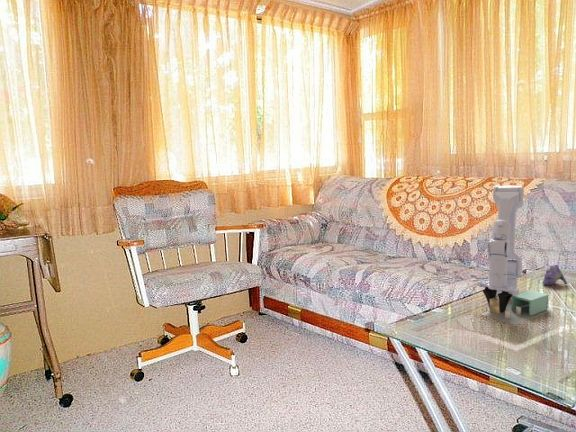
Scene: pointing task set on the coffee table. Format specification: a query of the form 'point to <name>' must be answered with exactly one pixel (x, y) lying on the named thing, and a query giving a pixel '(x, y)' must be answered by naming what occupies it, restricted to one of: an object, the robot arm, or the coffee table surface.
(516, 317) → the base
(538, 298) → the block
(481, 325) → the coffee table surface
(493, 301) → the brown block
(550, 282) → the flower
